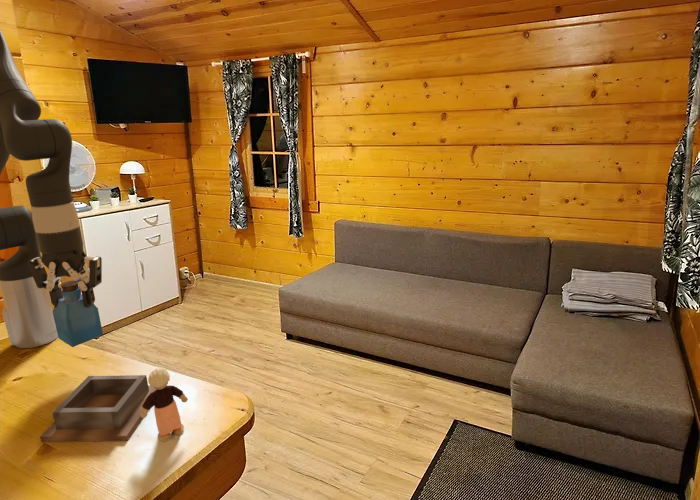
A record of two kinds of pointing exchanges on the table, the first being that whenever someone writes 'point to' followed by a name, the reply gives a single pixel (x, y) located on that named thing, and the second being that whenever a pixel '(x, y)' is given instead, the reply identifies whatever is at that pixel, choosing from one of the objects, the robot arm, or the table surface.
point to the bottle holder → (100, 410)
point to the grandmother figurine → (164, 404)
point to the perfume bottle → (75, 317)
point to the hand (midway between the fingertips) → (74, 305)
